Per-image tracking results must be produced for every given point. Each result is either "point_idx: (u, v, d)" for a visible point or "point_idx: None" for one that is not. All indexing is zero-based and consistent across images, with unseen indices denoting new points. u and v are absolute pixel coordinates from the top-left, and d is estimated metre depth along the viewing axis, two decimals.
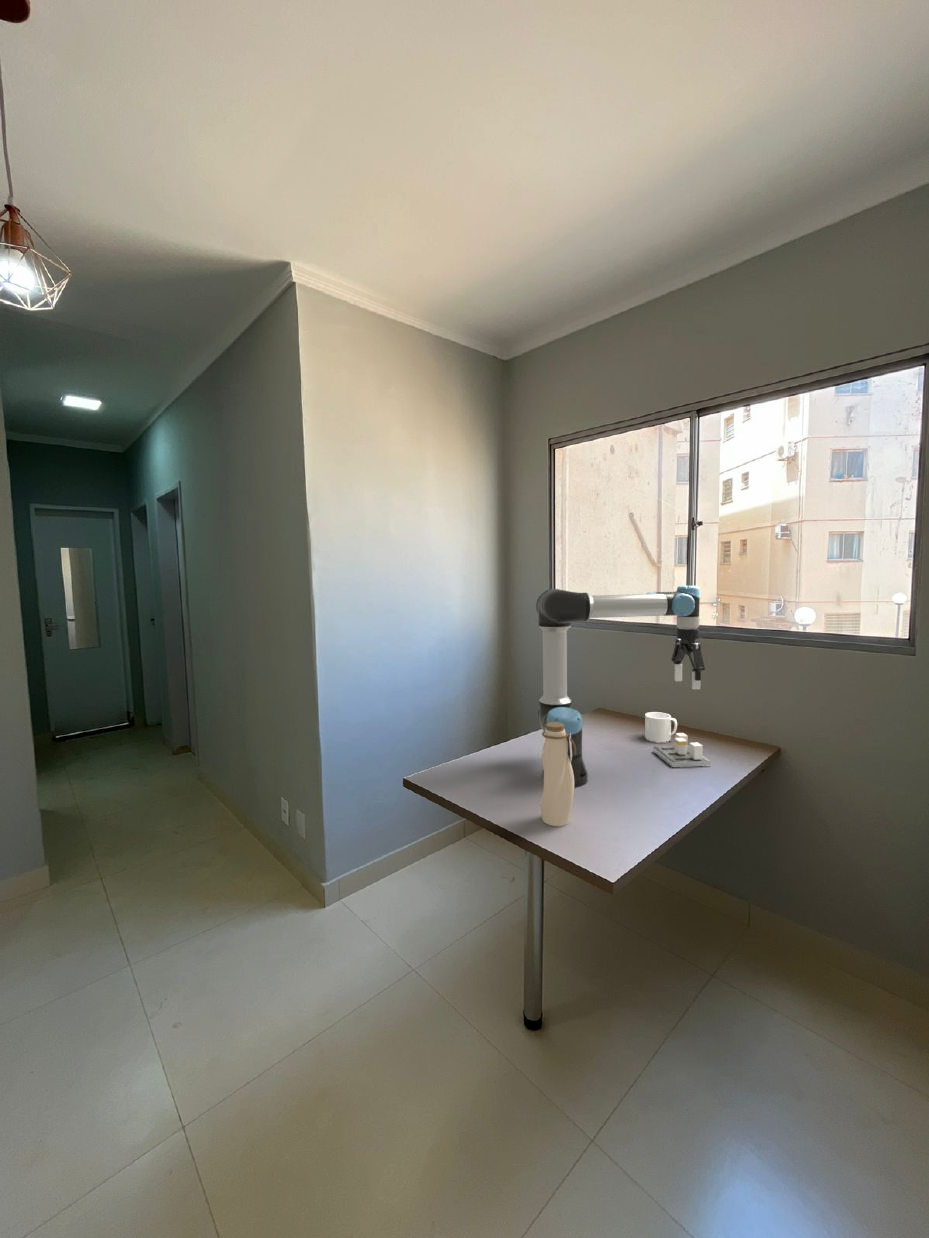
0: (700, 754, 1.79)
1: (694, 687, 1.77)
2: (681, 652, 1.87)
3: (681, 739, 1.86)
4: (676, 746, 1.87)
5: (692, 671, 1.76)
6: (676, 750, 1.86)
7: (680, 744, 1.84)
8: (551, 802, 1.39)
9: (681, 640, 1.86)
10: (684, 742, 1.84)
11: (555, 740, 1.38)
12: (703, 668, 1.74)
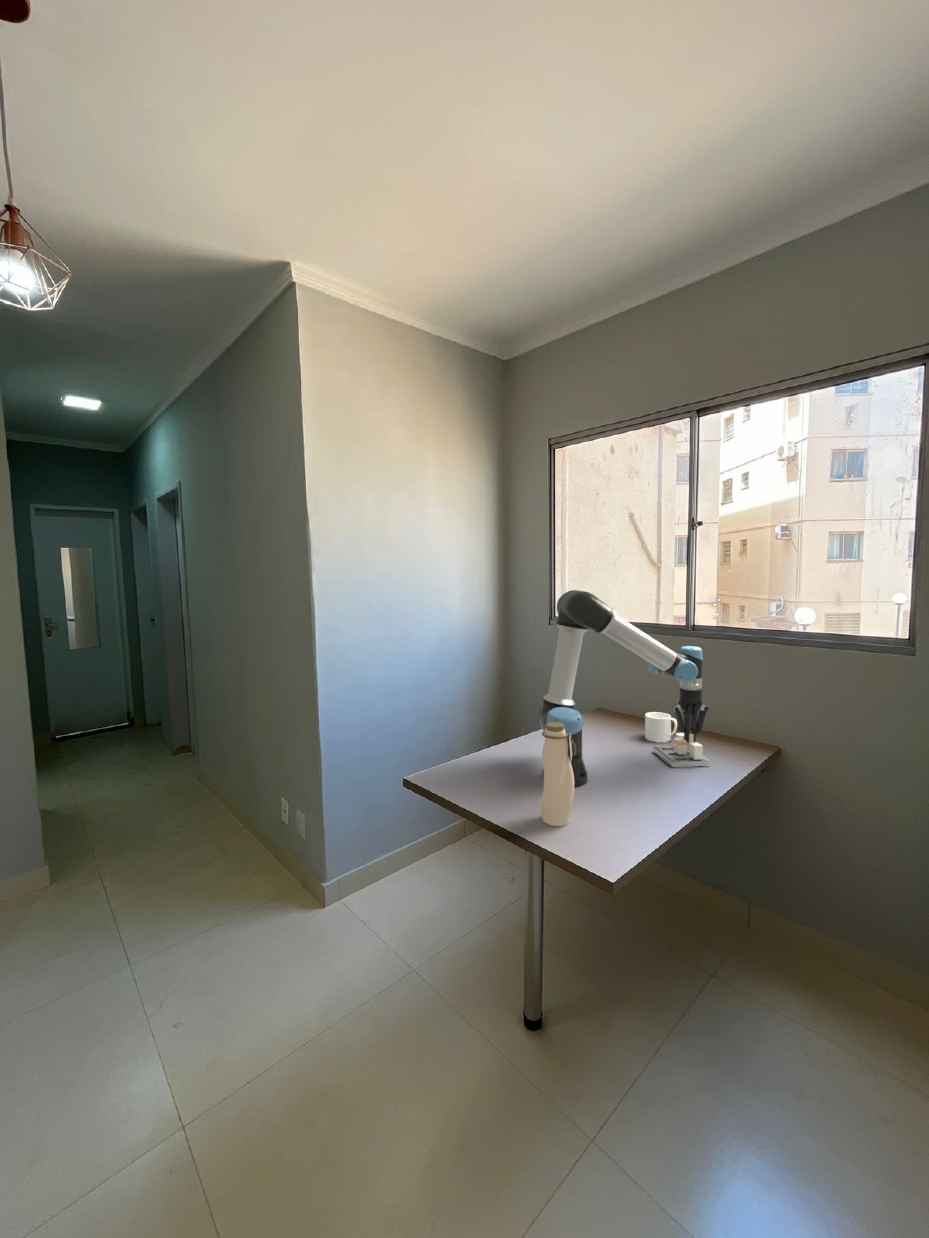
0: (700, 754, 1.79)
1: None
2: (691, 714, 1.86)
3: (681, 739, 1.86)
4: (675, 746, 1.87)
5: None
6: (676, 750, 1.86)
7: (680, 744, 1.84)
8: (551, 802, 1.39)
9: None
10: (684, 742, 1.84)
11: (555, 740, 1.38)
12: (681, 731, 1.85)
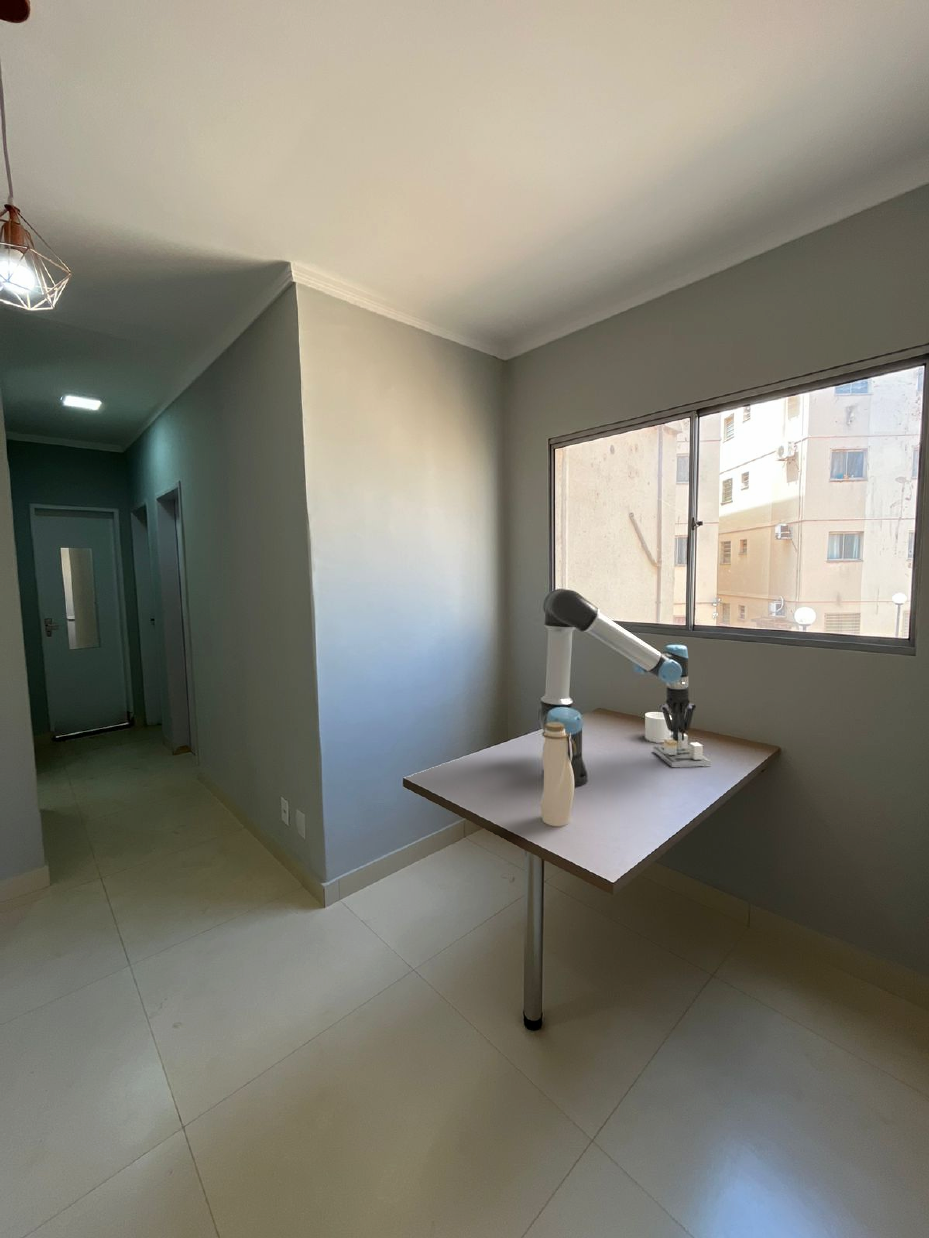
0: (700, 754, 1.79)
1: None
2: (678, 712, 1.86)
3: (671, 739, 1.86)
4: (665, 747, 1.86)
5: None
6: (666, 750, 1.86)
7: (670, 744, 1.84)
8: (551, 802, 1.39)
9: None
10: (674, 742, 1.84)
11: (555, 740, 1.38)
12: (670, 730, 1.85)
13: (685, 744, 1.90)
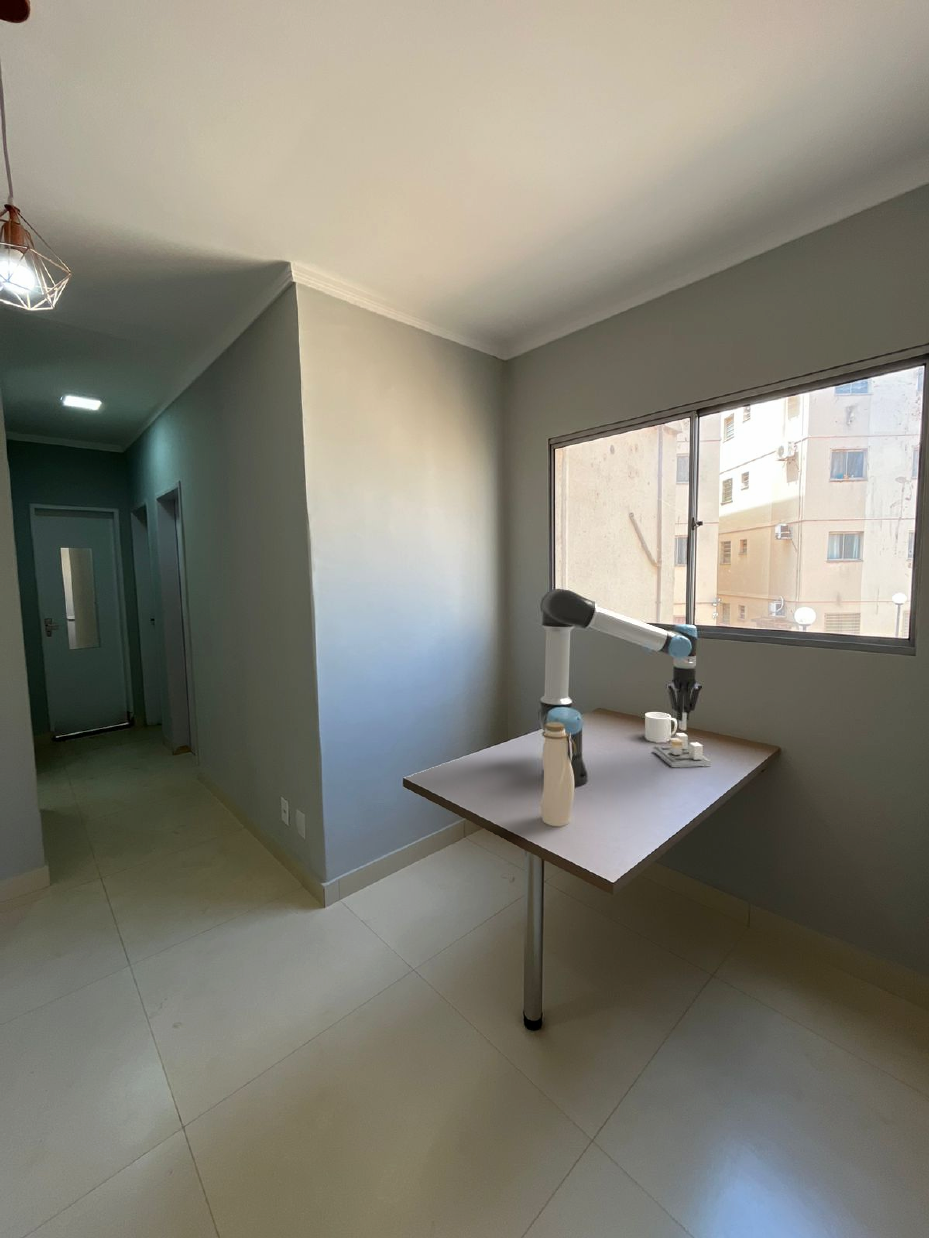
0: (700, 754, 1.79)
1: (679, 726, 1.86)
2: (684, 692, 1.85)
3: (676, 739, 1.86)
4: (671, 746, 1.87)
5: None
6: (671, 750, 1.86)
7: (675, 744, 1.84)
8: (551, 802, 1.39)
9: None
10: (679, 742, 1.84)
11: (555, 740, 1.38)
12: (674, 709, 1.84)
13: (685, 744, 1.90)
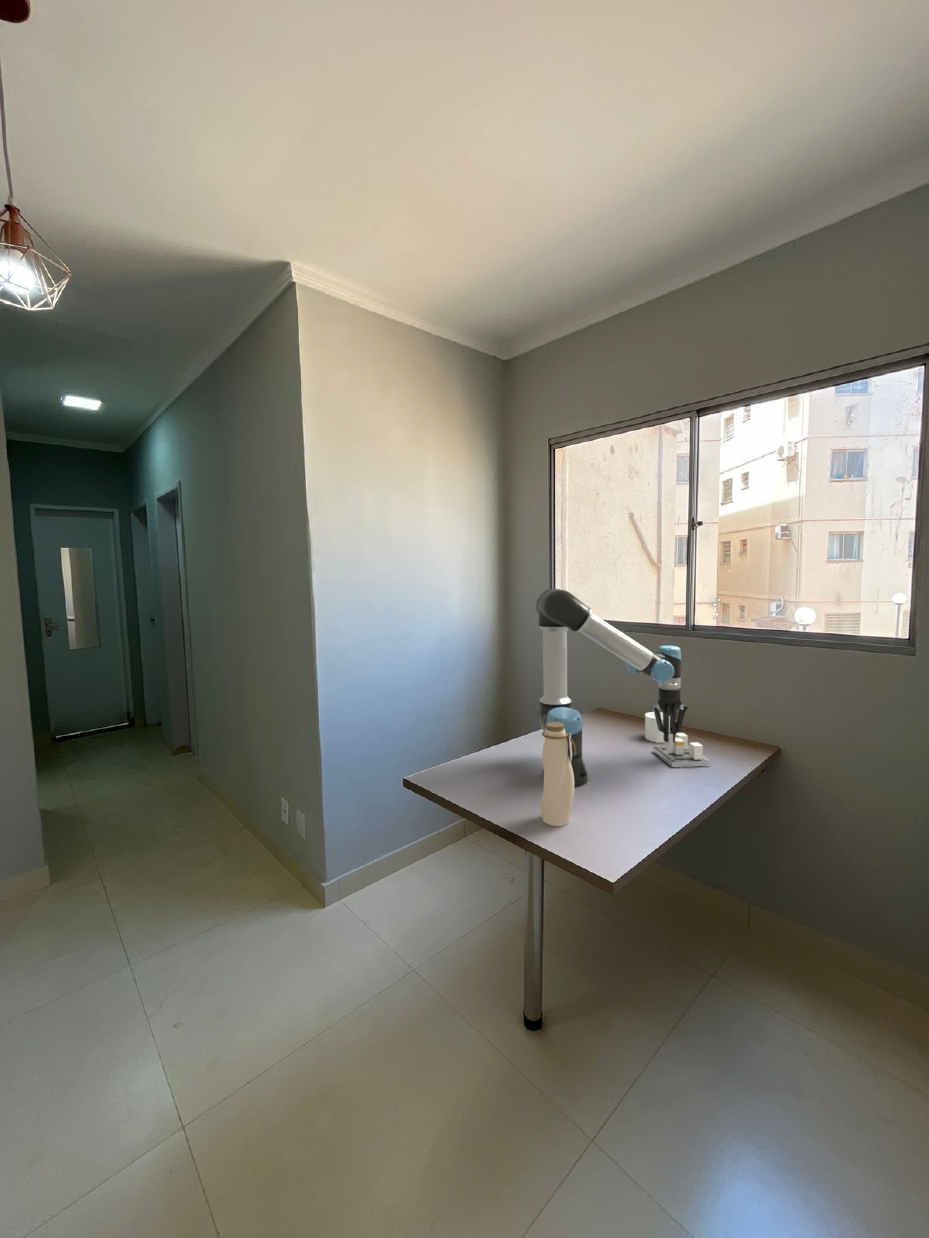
0: (700, 754, 1.79)
1: (666, 747, 1.87)
2: (670, 713, 1.86)
3: (678, 739, 1.86)
4: (673, 746, 1.87)
5: None
6: (673, 750, 1.86)
7: (677, 744, 1.84)
8: (551, 802, 1.39)
9: None
10: (681, 742, 1.84)
11: (555, 740, 1.38)
12: (660, 730, 1.84)
13: (685, 744, 1.90)
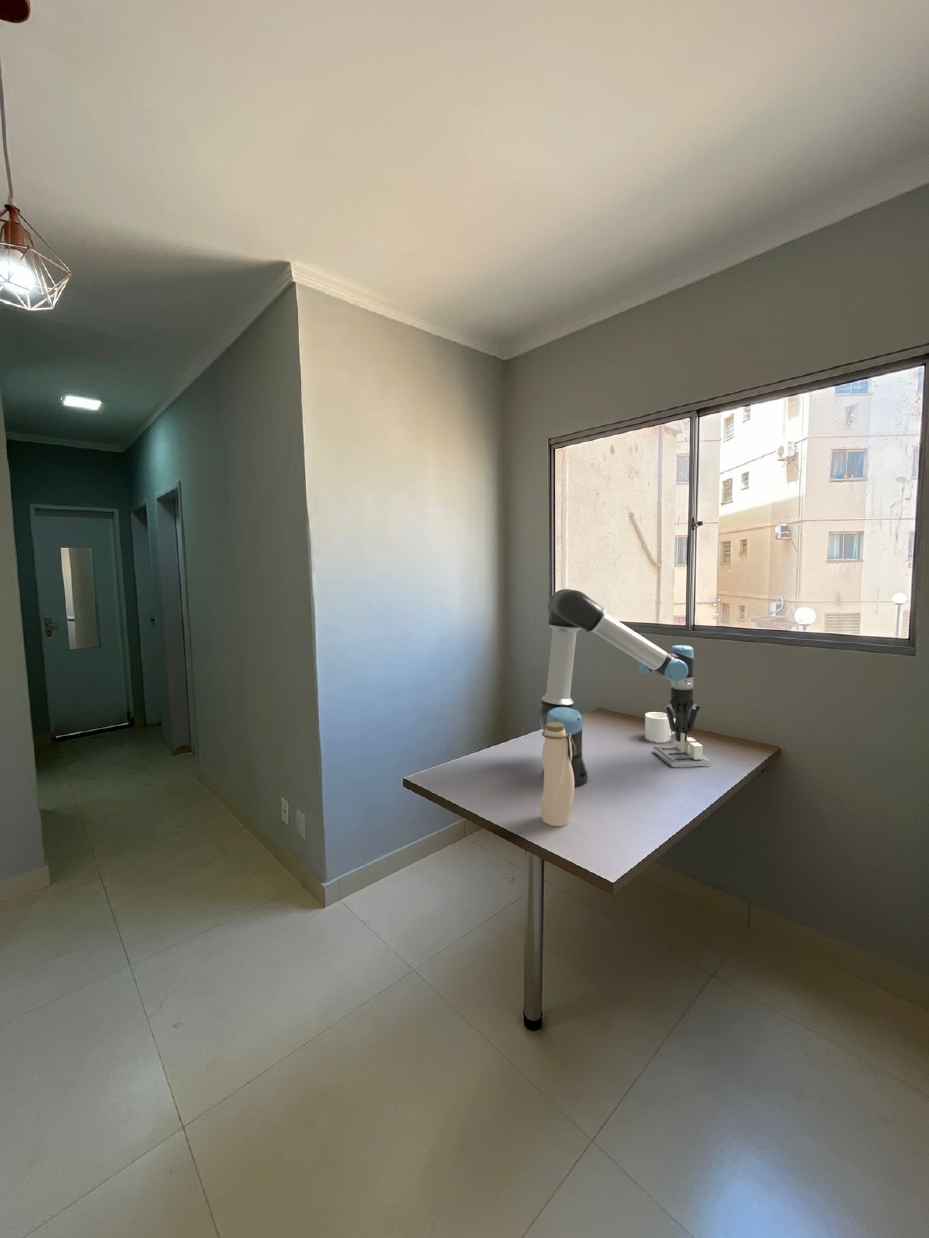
0: (700, 754, 1.79)
1: (678, 746, 1.87)
2: (682, 713, 1.86)
3: (690, 739, 1.86)
4: None
5: None
6: (685, 750, 1.87)
7: (689, 744, 1.84)
8: (551, 802, 1.39)
9: None
10: (693, 742, 1.84)
11: (555, 740, 1.38)
12: (673, 730, 1.85)
13: None
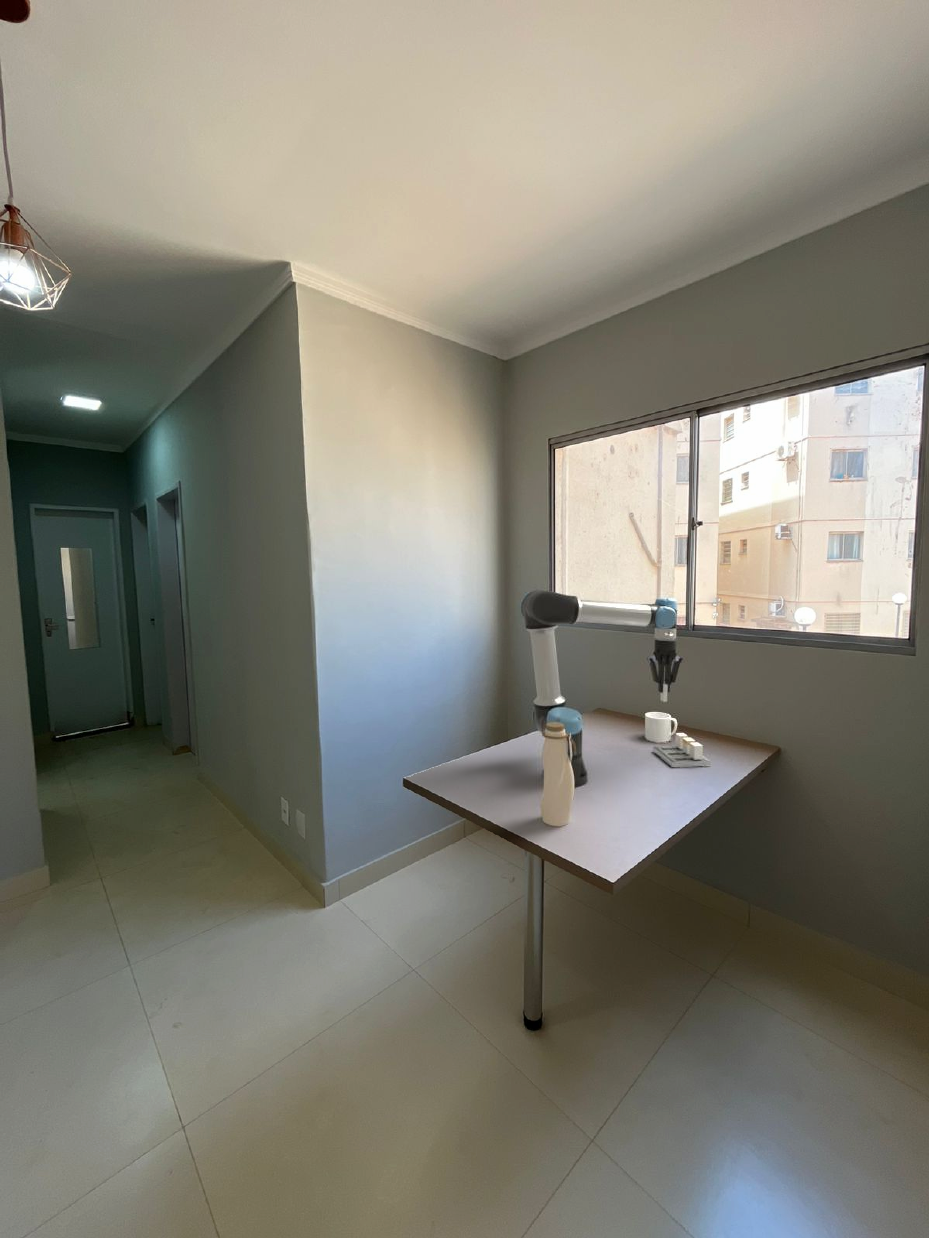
0: (700, 754, 1.79)
1: (660, 698, 1.90)
2: (665, 665, 1.89)
3: (689, 739, 1.86)
4: (684, 746, 1.87)
5: None
6: (684, 750, 1.87)
7: (688, 744, 1.84)
8: (551, 802, 1.39)
9: None
10: (692, 742, 1.84)
11: (555, 740, 1.38)
12: (655, 681, 1.88)
13: None
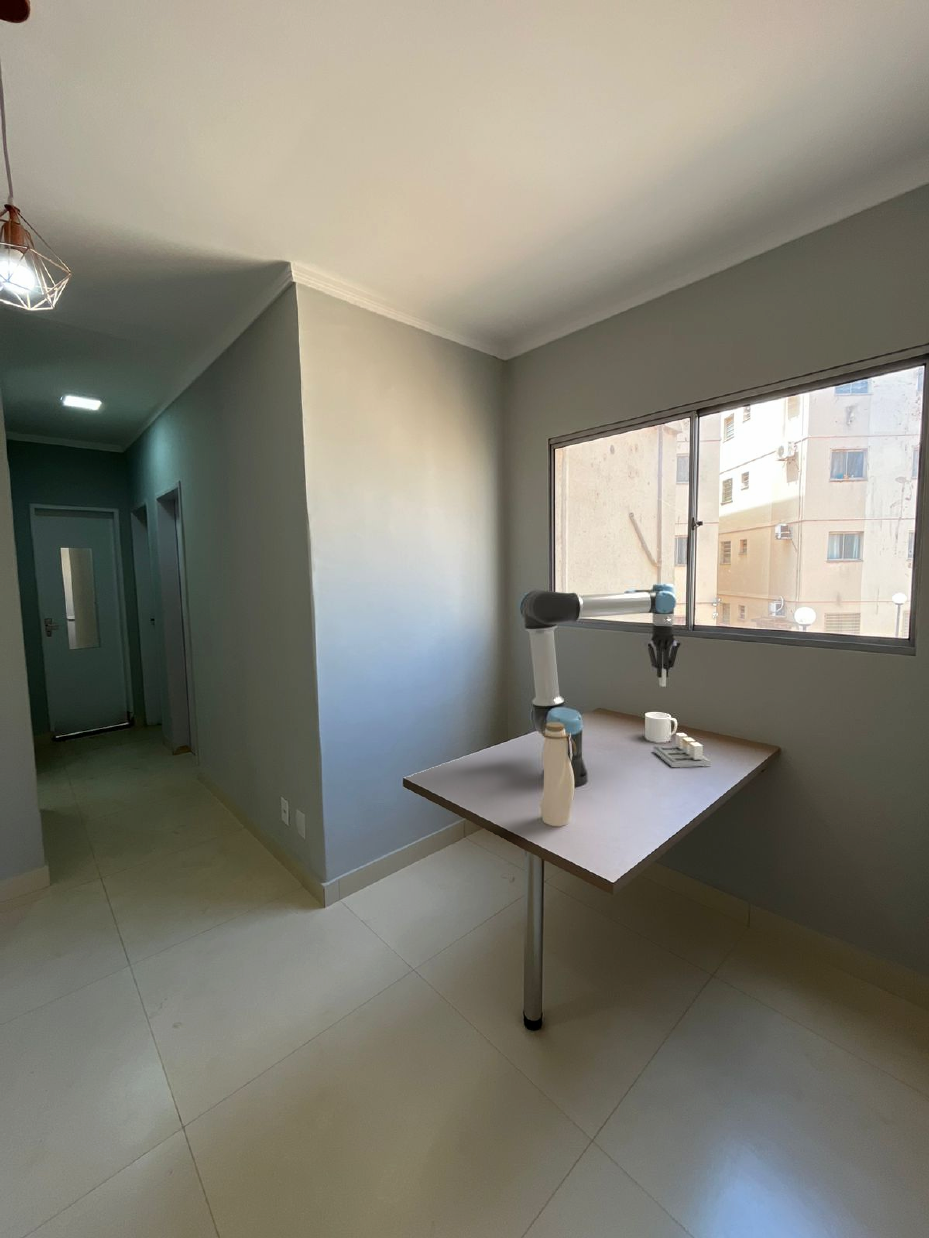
0: (700, 754, 1.79)
1: (659, 683, 1.92)
2: (663, 650, 1.91)
3: (689, 739, 1.86)
4: (684, 746, 1.87)
5: None
6: (684, 750, 1.87)
7: (688, 744, 1.84)
8: (551, 802, 1.39)
9: None
10: (692, 742, 1.84)
11: (555, 740, 1.38)
12: (654, 666, 1.89)
13: None
